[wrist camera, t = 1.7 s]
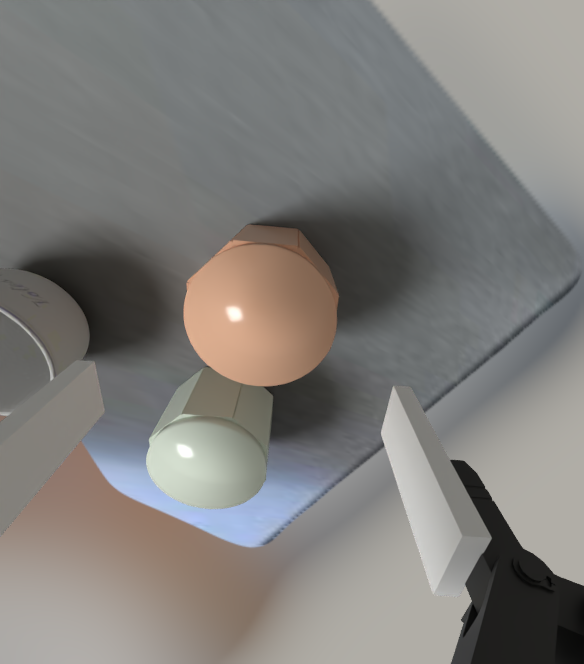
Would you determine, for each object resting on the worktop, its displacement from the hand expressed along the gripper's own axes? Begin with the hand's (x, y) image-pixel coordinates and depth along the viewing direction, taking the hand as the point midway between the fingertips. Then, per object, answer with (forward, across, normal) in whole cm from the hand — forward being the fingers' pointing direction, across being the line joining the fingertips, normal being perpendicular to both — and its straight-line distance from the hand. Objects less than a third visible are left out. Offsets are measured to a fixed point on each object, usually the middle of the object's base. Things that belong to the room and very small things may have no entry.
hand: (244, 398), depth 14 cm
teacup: (+16, -22, -4) cm, 28 cm away
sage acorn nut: (+16, -4, -14) cm, 21 cm away
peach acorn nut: (+16, 0, 0) cm, 16 cm away
